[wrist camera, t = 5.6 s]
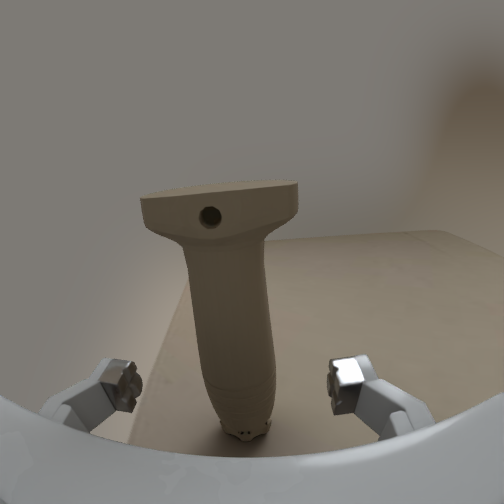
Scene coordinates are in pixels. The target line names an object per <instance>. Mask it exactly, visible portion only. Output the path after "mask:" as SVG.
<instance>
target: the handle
mask: <svg viewBox="0 0 504 504" xmlns="http://www.w3.org/2000/svg"><path fill="white" fill-rule="evenodd" d="M140 201H141V208H142V214H143V220H144V224H145V226H146V228H148V229H149V230H151V231H152V232H154V233H156V234H159V235H161V236H164V237H166V238H168V239H171V240H173V241H175V242H177V243H178V244H179V245H181V246H182V247H183V251H184V255H185V259H186V264H187V268H188V274H189V283H190V291H191V298H192V306H193V313H194V320H195V328H196V335H197V343H198V350H199V357H200V363H201V370H202V374H203V378H204V382H205V386H206V389H207V392H208V395H209V398H210V400H211V403H212V405H213V407H214V409H215V411H216V413H217V415H218V417H219V418H220V423H221V425H222V428H223V429H224V431H225V432H226V433H227V434H233V435H235V436H237V437H239V438H240V440H241V441H251V440H252V439H253V438H254V437H256V436H257V435H260V434H263V433H267V432H268V431H269V429H270V426H271V419H270V416H271V413H272V410H273V406H274V400H275V390H276V365H275V354H274V346H273V338H272V330H271V322H270V314H269V305H268V296H267V286H266V277H265V268H264V239H265V238H266V236H267V235H268V234H269V233H271V232H272V231H274V230H275V229H277V228H279V227H280V226H282V225H284V224H285V223H287V222H288V221H289V220H291V219H292V218H293V217H294V216H295V215H296V214H297V212H298V182H296V181H292V180H257V181H239V182H228V183H216V184H206V185H198V186H191V187H183V188H176V189H170V190H165V191H160V192H155V193H151V194H148V195H145V196H142V197H140Z"/></svg>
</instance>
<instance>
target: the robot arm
mask: <svg viewBox="0 0 504 504" xmlns="http://www.w3.org/2000/svg"><path fill="white" fill-rule="evenodd" d="M136 370H137V367H136V365H135V363H134V362H132V361H126V360H118V359H111V358H103V359H102V360H101V361H100V363H99V364H98V366H97V367H96V368H95V370H94V371H93V373H92V374H91V376H90V377H89V379H84V380H82V381H80V382H79V383H77V384H75V385H73V386H71V387H69V388H67V389H65V390H63V391H61V392H59V393H57V394H55V395H53V396H51V397H50V398H48V400H47V401H46V402H45V404H44V405H43V407H42V408H41V410H40V411H39V412H38V414H37V413H35V412H32V411H30V410H28V409H26V408H24V407H22V406H20V405H18V404H16V403H14V402H12V401H10V400H8V399H7V398H5V397H3V396H1V395H0V504H504V392H502V393H499V394H497V395H495V396H493V397H491V398H489V399H487V400H486V401H484V402H482V403H480V404H478V405H476V406H474V407H472V408H470V409H468V410H466V411H463V412H461V413H459V414H457V415H455V416H452V417H450V418H448V419H445V420H443V421H440V422H438V423H436V422H435V420H434V419H433V417H432V415H431V413H430V411H429V409H428V407H427V406H426V404H425V402H423V401H421V400H419V399H417V398H415V397H414V396H412V395H410V394H408V393H406V392H405V391H403V390H401V389H399V388H397V387H396V386H394V385H392V384H390V383H389V382H387V381H385V380H383V379H379V378H378V376H377V374H376V372H375V370H374V368H373V366H372V364H371V362H370V360H369V358H368V356H367V355H366V354H362V355H356V356H351V357H344V358H337V359H330V361H329V370H330V372H329V374H328V375H327V390H328V395H329V396H330V397H331V398H332V399H331V407H332V410H333V414H334V415H342V414H349V413H354V414H355V415H356V416H357V417H358V418H360V419H361V420H362V421H363V422H364V423H365V424H367V425H368V426H369V427H370V428H371V429H372V430H374V431H375V432H376V433H377V434H378V435H379V436H380V437H379V439H378V441H377V442H374V443H370V444H366V445H361V446H356V447H351V448H346V449H340V450H335V451H328V452H321V453H314V454H305V455H295V456H281V457H257V458H237V457H213V456H200V455H190V454H181V453H174V452H167V451H160V450H155V449H149V448H144V447H139V446H134V445H130V444H125V443H121V442H117V441H113V440H110V439H105V438H102V437H99V436H95V435H92V434H90V431H92V430H93V429H94V428H95V427H97V426H98V425H99V424H100V423H102V422H103V421H104V420H105V419H107V418H108V417H109V416H111V415H112V414H113V413H114V412H115V411H116V410H117V411H123V412H129V413H132V412H133V409H134V408H135V405H136V403H137V402H136V399H135V398H137V397H138V396H140V394H141V392H142V386H143V384H142V379H141V377H140V375H139V374H138V373H136Z"/></svg>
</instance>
